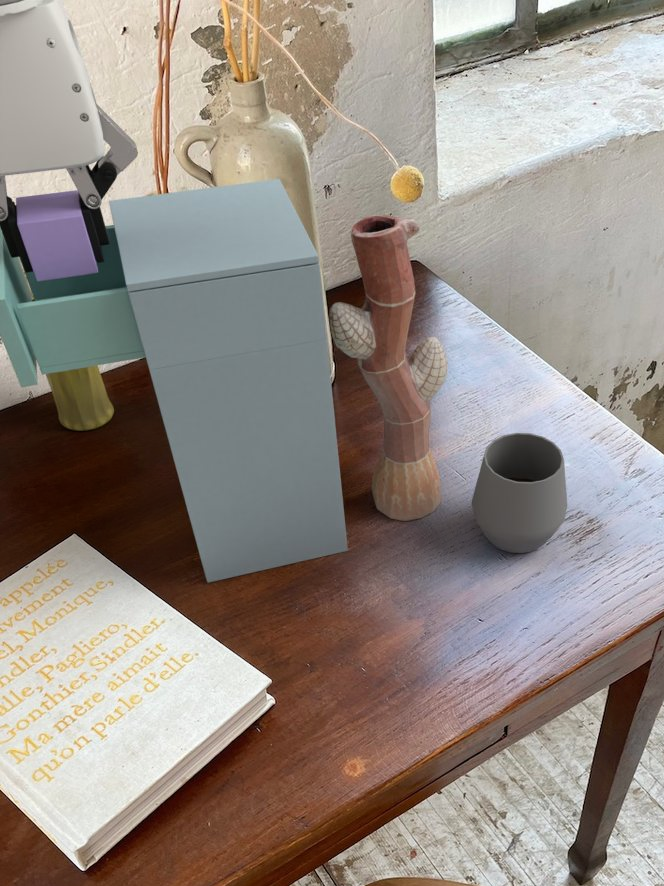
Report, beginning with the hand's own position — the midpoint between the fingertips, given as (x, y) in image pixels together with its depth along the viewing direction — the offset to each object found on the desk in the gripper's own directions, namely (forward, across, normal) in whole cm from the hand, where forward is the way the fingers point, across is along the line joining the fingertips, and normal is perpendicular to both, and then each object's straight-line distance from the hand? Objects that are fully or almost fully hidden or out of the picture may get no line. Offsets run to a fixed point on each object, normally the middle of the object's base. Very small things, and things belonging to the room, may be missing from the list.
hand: (63, 256), depth 68 cm
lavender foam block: (+1, 0, 0) cm, 1 cm away
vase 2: (+30, -25, +1) cm, 40 cm away
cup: (+30, -35, +10) cm, 48 cm away
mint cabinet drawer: (+6, +1, 0) cm, 6 cm away
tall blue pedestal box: (+30, -11, 0) cm, 32 cm away
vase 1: (+31, +5, -24) cm, 39 cm away
